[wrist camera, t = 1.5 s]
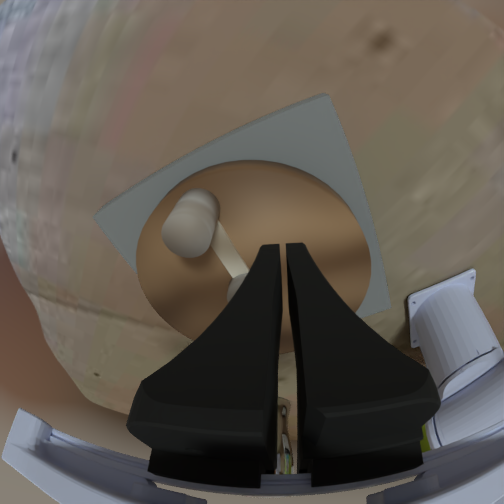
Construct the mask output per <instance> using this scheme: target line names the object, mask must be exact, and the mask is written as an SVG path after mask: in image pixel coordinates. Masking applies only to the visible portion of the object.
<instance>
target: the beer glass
mask: <svg viewBox="0 0 504 504" xmlns="http://www.w3.org/2000/svg"><path fill="white" fill-rule="evenodd" d="M290 407H291V404H290V402H289V401H288V400H286V399H284V398H280V397H278V441H277V469H276V470H275V472H274V474H294V460H293V453H292V448H291V442H290V437H289V431H288V418H289V412H290ZM242 496H246V497H257V498H283V497H291V496H248V495H242Z"/></svg>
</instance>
